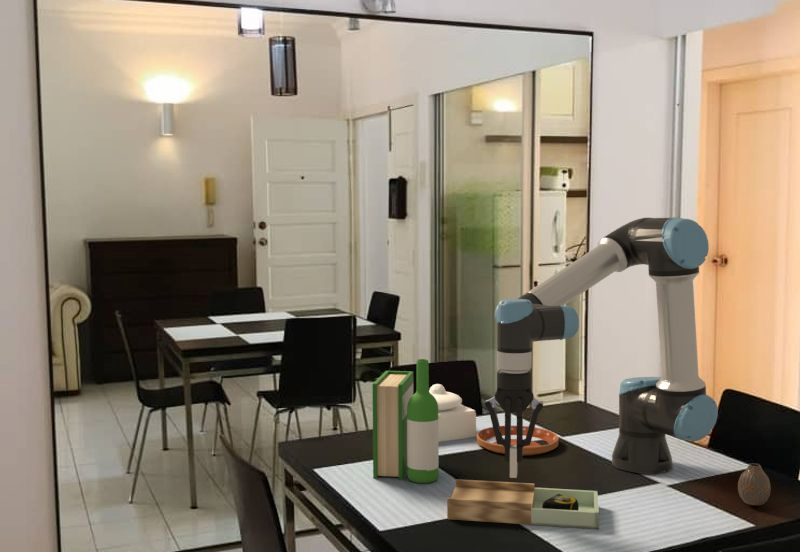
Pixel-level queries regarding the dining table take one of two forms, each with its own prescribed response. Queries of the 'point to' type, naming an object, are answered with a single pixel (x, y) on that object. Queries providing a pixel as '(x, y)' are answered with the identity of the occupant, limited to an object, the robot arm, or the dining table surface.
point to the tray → (566, 518)
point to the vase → (754, 485)
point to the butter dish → (453, 416)
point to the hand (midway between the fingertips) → (513, 475)
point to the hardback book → (391, 423)
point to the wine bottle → (422, 430)
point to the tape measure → (561, 503)
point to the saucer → (527, 450)
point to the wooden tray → (491, 501)
